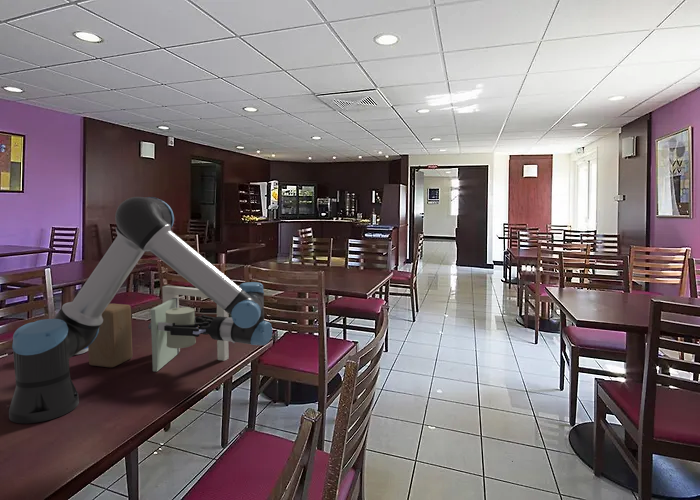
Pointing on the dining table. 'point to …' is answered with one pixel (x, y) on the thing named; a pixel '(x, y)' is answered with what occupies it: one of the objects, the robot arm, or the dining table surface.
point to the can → (180, 318)
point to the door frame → (175, 291)
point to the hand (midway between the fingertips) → (169, 322)
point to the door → (161, 335)
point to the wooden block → (112, 337)
